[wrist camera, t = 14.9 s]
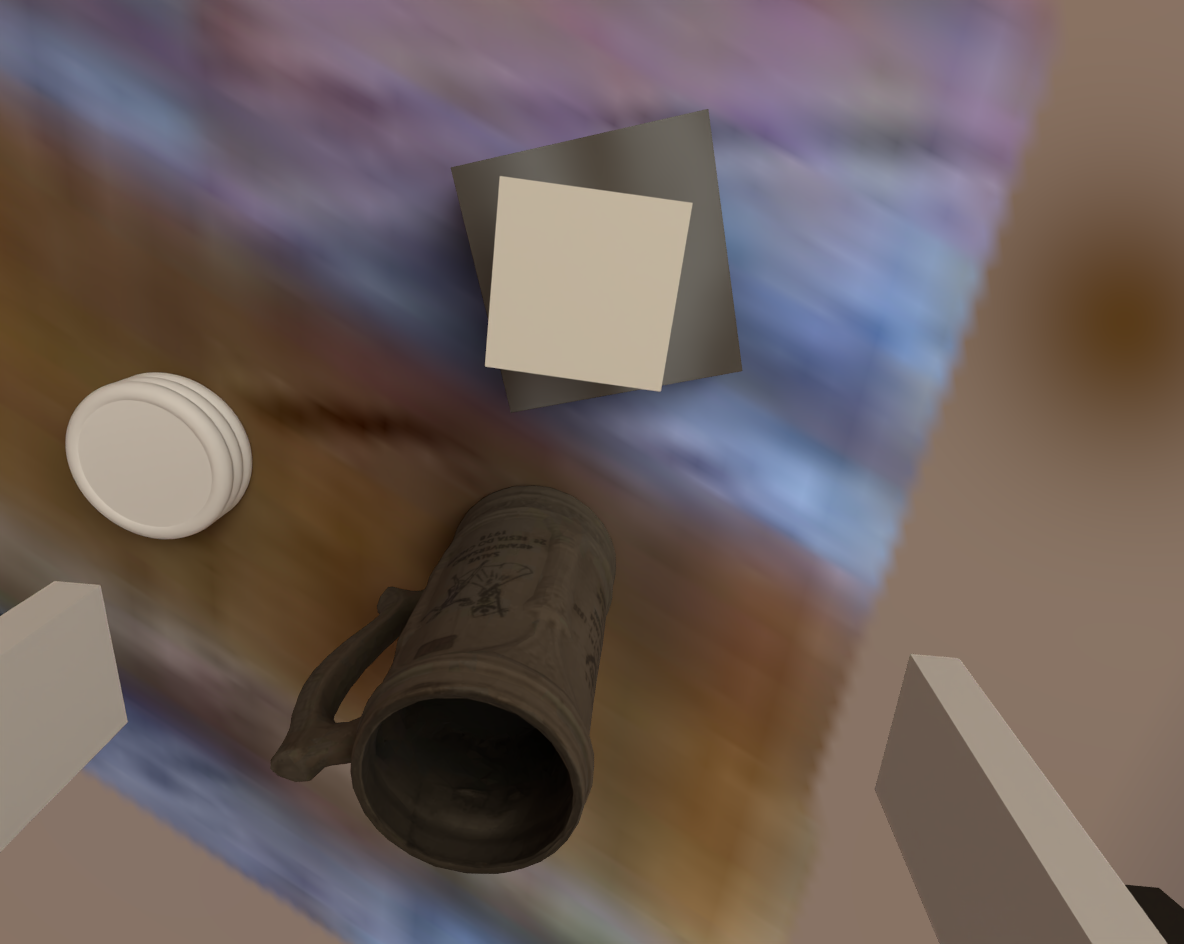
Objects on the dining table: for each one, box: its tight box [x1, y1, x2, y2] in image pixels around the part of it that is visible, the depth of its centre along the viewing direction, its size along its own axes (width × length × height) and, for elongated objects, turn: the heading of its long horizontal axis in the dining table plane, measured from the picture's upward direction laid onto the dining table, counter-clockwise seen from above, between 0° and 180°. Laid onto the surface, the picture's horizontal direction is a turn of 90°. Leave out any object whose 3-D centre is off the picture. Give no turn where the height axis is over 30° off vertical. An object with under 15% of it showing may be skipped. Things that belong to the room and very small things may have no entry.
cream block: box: [485, 176, 693, 392], centre depth 29 cm, size 6×6×12 cm
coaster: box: [65, 372, 252, 539], centre depth 44 cm, size 10×10×4 cm
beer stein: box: [270, 486, 616, 874], centre depth 38 cm, size 15×11×20 cm
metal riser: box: [451, 109, 742, 413], centre depth 37 cm, size 12×12×6 cm
